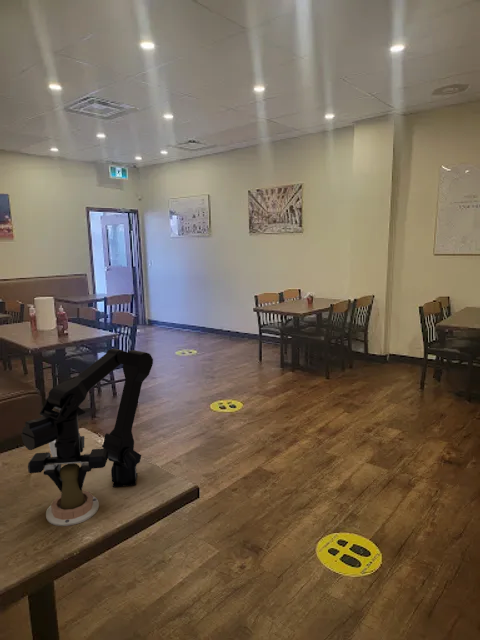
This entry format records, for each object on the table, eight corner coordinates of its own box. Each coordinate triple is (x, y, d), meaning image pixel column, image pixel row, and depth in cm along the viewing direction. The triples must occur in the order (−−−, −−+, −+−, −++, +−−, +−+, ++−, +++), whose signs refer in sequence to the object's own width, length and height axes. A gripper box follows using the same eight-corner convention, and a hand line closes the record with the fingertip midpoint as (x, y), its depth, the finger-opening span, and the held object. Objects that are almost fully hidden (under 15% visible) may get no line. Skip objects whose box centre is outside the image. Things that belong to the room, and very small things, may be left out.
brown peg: (76, 512, 111) (73, 472, 109) (55, 509, 112) (52, 470, 110) (89, 499, 117) (86, 461, 115) (69, 496, 118) (66, 459, 116)
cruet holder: (102, 494, 122) (102, 485, 121) (93, 523, 109) (92, 513, 109) (54, 498, 120) (53, 489, 120) (39, 528, 107) (38, 518, 107)
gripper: (109, 420, 120) (112, 471, 123) (38, 424, 118) (43, 477, 120) (102, 437, 109) (106, 494, 112) (24, 442, 107) (30, 500, 110)
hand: (71, 490), depth 114 cm, fingers closed on brown peg, 4 cm apart
